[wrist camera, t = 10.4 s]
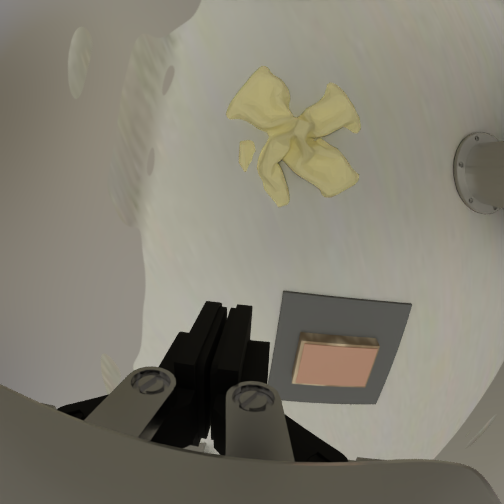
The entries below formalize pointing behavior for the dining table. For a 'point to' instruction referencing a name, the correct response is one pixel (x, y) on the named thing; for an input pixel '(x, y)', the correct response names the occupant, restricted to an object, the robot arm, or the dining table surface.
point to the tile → (334, 360)
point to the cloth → (295, 135)
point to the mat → (335, 323)
